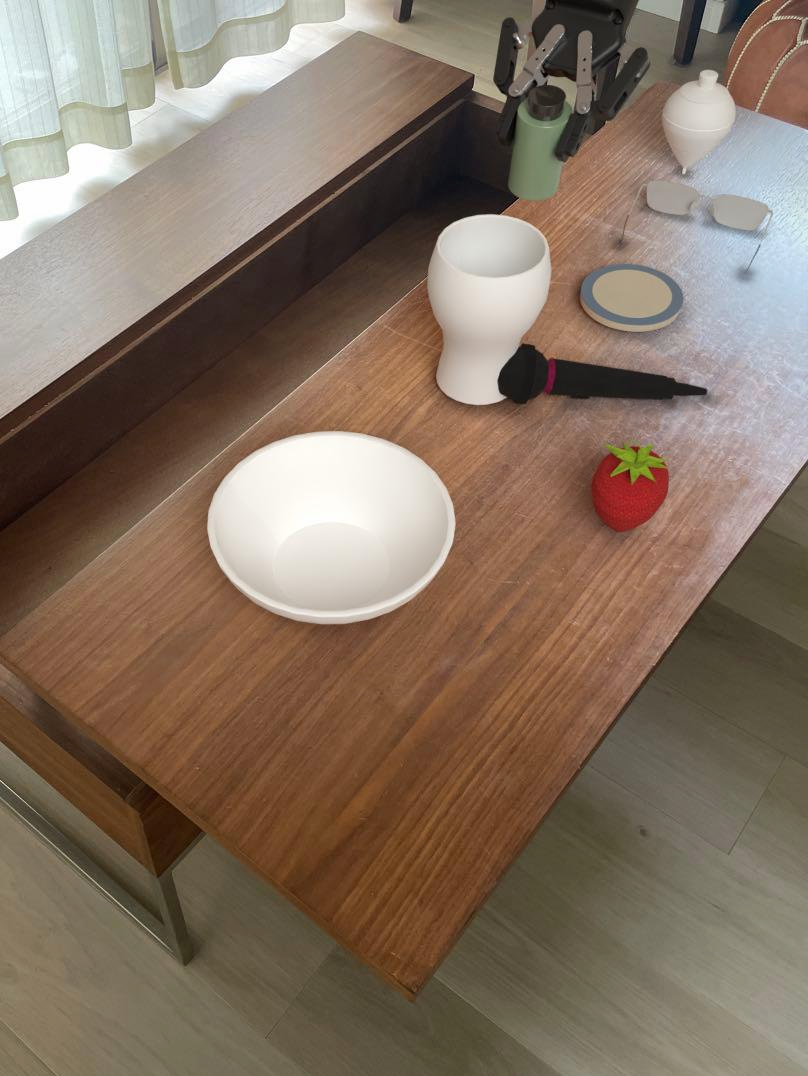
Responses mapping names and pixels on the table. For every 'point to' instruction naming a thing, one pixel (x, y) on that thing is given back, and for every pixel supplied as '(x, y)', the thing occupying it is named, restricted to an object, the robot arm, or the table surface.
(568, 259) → the table surface
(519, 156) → the pepper shaker
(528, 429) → the table surface
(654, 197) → the eyeglasses
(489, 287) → the cup
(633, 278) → the saucer
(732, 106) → the spinning top
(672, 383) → the microphone
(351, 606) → the bowl
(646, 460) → the strawberry
